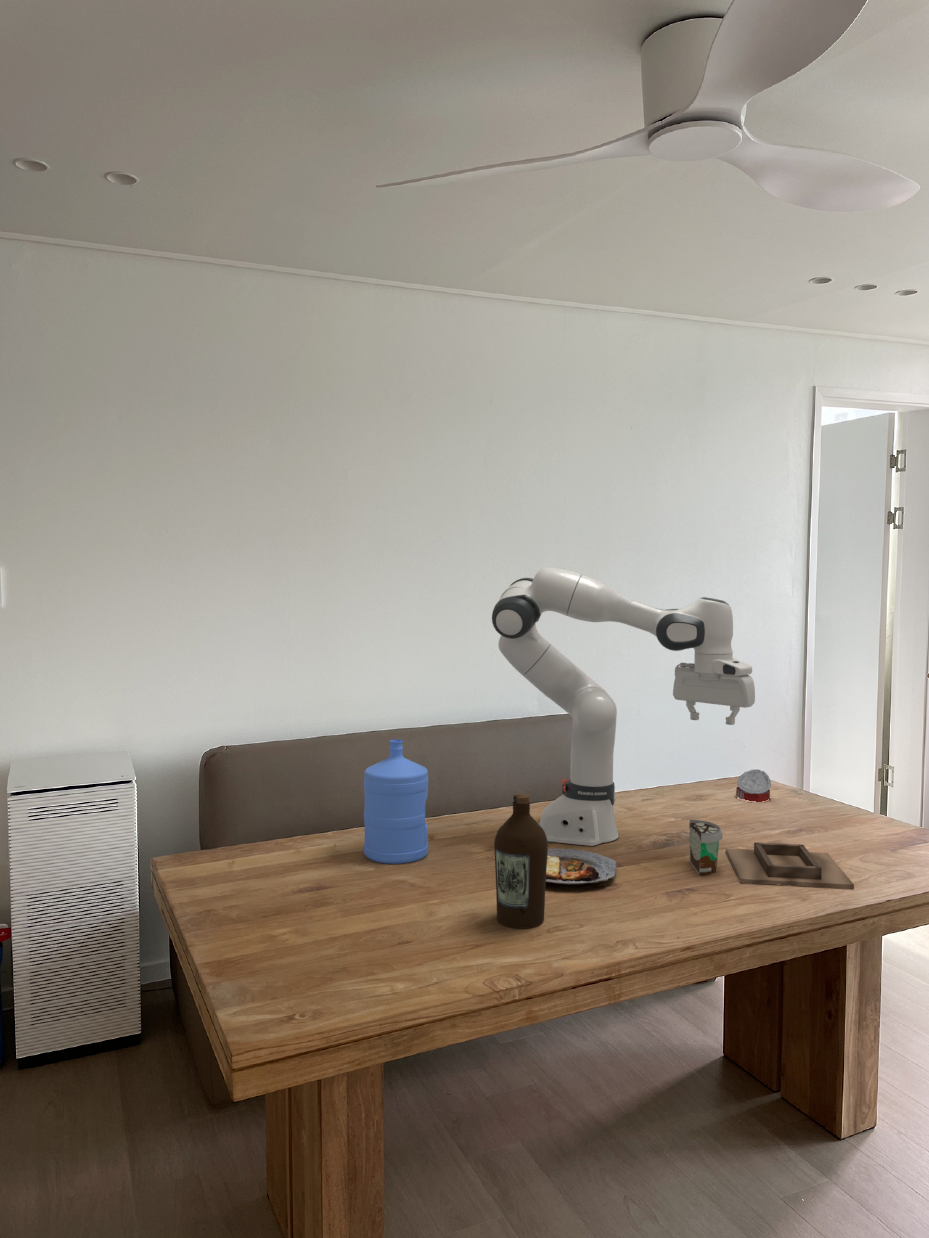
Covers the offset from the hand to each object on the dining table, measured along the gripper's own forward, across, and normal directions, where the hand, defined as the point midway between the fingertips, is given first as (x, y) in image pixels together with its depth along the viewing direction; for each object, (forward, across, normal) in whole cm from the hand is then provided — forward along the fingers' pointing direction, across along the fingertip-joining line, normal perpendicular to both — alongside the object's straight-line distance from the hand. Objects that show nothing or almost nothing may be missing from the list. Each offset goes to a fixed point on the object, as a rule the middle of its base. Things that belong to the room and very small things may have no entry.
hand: (712, 722), depth 216 cm
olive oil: (+33, -7, -62) cm, 71 cm away
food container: (+33, +4, -8) cm, 35 cm away
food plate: (+33, -18, -34) cm, 51 cm away
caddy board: (+33, +18, +4) cm, 37 cm away
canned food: (+33, -18, +59) cm, 70 cm away
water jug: (+33, -55, -53) cm, 83 cm away
